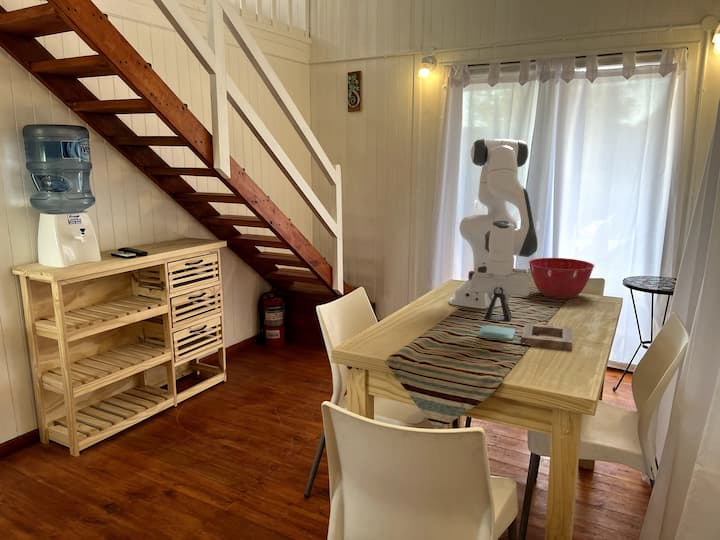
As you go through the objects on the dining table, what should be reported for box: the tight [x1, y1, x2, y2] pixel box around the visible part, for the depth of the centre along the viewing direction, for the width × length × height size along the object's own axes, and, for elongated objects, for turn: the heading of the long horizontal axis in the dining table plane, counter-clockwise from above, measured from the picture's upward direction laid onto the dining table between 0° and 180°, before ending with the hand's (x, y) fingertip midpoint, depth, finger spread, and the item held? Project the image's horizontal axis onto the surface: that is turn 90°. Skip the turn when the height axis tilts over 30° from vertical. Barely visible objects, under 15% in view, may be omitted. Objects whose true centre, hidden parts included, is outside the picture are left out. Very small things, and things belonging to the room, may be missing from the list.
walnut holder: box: [520, 322, 573, 351], centre depth 189 cm, size 16×18×2 cm
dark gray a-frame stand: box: [483, 287, 513, 323], centre depth 192 cm, size 9×6×12 cm, turn 68°
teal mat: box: [477, 325, 517, 341], centre depth 195 cm, size 12×12×1 cm
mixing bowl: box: [528, 257, 595, 300], centre depth 251 cm, size 28×28×16 cm
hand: (498, 306), depth 193 cm, fingers closed on dark gray a-frame stand, 2 cm apart
